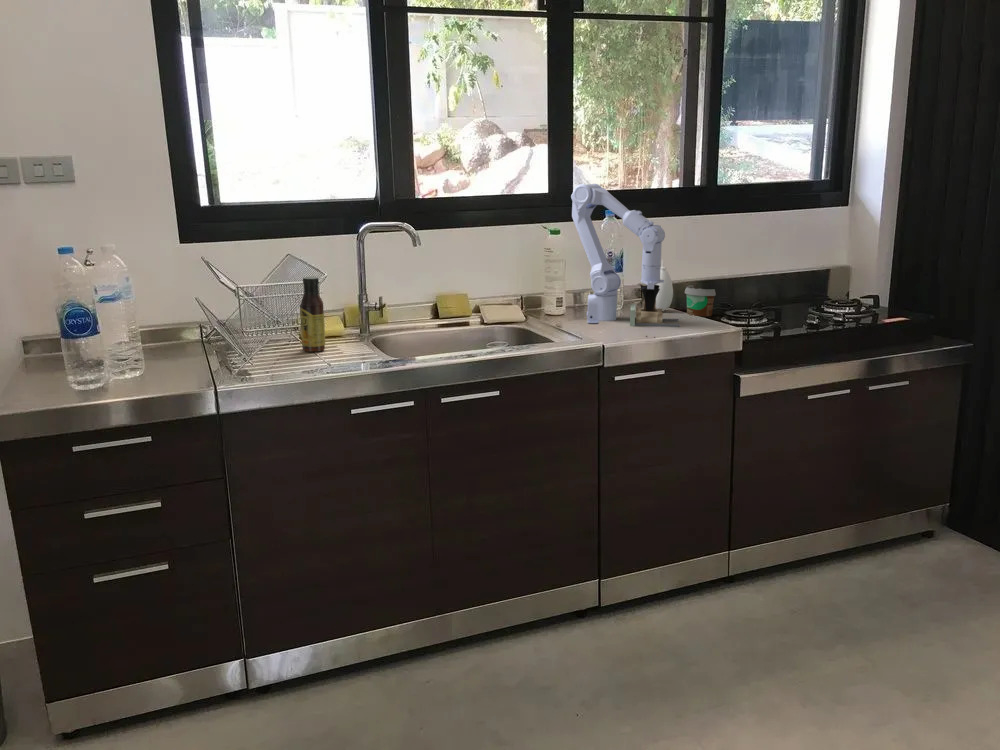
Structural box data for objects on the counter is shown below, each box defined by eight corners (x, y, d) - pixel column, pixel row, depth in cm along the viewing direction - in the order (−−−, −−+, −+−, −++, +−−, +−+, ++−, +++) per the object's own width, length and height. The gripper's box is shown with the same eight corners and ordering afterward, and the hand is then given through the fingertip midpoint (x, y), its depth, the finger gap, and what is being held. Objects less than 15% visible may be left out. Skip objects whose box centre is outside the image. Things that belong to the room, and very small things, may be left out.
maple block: (635, 324, 256) (636, 312, 255) (635, 320, 263) (636, 308, 262) (662, 325, 254) (662, 312, 254) (661, 321, 262) (662, 308, 261)
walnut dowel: (643, 315, 257) (644, 292, 255) (643, 313, 260) (644, 291, 259) (655, 315, 256) (656, 293, 255) (655, 313, 260) (656, 291, 258)
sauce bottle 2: (676, 312, 285) (679, 259, 281) (659, 314, 281) (661, 261, 277) (661, 309, 292) (663, 257, 287) (644, 311, 288) (646, 259, 283)
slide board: (629, 329, 254) (630, 310, 253) (630, 322, 266) (630, 304, 264) (679, 330, 252) (680, 311, 251) (677, 324, 264) (678, 305, 262)
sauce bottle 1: (300, 349, 227) (296, 276, 222) (323, 347, 229) (320, 275, 224) (304, 353, 221) (299, 279, 216) (327, 352, 223) (323, 278, 218)
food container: (675, 315, 279) (677, 285, 277) (690, 314, 282) (692, 284, 279) (698, 321, 268) (700, 290, 266) (714, 319, 271) (716, 289, 268)
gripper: (665, 268, 247) (663, 313, 250) (663, 263, 261) (661, 306, 264) (641, 267, 248) (639, 312, 251) (641, 262, 262) (639, 305, 265)
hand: (649, 309), depth 258 cm, fingers closed on walnut dowel, 3 cm apart
